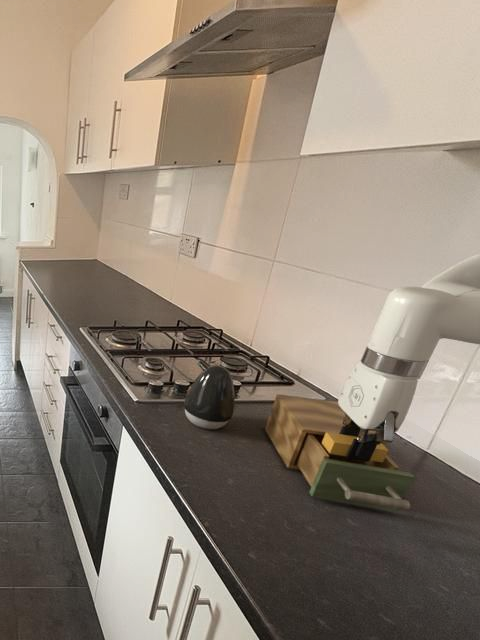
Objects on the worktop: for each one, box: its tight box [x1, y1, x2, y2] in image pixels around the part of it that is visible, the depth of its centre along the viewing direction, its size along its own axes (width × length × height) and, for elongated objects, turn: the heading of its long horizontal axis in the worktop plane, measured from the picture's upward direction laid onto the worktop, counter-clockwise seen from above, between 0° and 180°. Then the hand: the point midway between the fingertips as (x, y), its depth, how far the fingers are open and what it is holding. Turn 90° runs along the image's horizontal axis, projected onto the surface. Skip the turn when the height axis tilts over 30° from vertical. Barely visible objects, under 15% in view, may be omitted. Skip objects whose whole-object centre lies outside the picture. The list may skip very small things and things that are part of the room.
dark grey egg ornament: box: [183, 360, 235, 430], centre depth 97 cm, size 10×10×15 cm
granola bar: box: [322, 432, 389, 462], centre depth 76 cm, size 8×3×3 cm, turn 72°
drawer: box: [295, 433, 415, 513], centre depth 76 cm, size 18×12×8 cm
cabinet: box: [264, 393, 389, 471], centre depth 87 cm, size 15×14×10 cm
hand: (351, 451), depth 76 cm, fingers closed on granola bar, 3 cm apart
